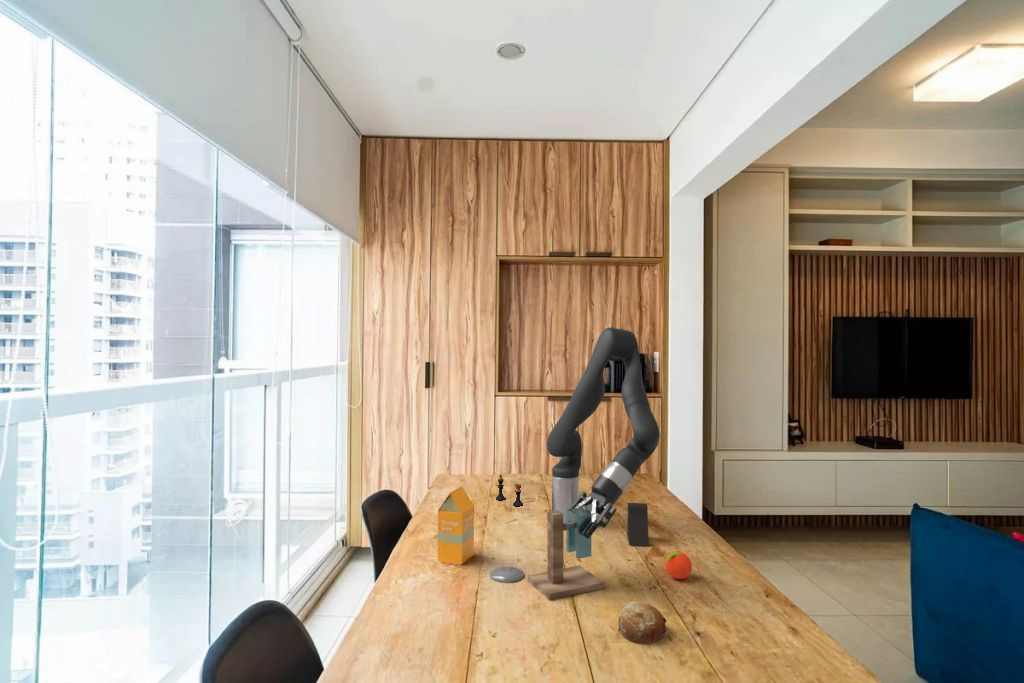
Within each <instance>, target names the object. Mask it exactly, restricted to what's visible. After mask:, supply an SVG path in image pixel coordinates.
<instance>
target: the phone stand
mask: <svg viewBox="0 0 1024 683" xmlns="http://www.w3.org/2000/svg"><path fill="white" fill-rule="evenodd" d="M648 507H649V506H648V503H646V502H645V503H642V502H627V520H626V521H627V523H626V524H627V526H626V529H627V530H626V538H627V541H628V542H629V543H628V545H632V546H631V547H646V546H650V543H649V521H648V520H649V519H648V518H649V516H648V514H649V513H648Z"/></svg>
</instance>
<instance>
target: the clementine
mask: <svg viewBox="0 0 1024 683" xmlns="http://www.w3.org/2000/svg"><path fill="white" fill-rule="evenodd" d="M664 565H665V566H664V567H665V570H666V572H667V573H668V575H669V576H671V577H672V578H673V579H676V580H677V579H678V580H683V579H687V578H688V577H689V576H690V574H691V573H692V570H693V562H692V561H691V558H690V557H689V556H688V555H687V554H686V553H685V552H683V551H680V550H675V551H672V552H670V553H669V554H667V556H666V557H665V560H664Z"/></svg>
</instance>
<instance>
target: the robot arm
mask: <svg viewBox="0 0 1024 683" xmlns="http://www.w3.org/2000/svg"><path fill="white" fill-rule="evenodd" d="M593 348H594V349H592V350H593V351H592V353H591V356H590V359H589V361H588V363H587V365H586V368H585V370H584V372H583V374H582V376H581V378H580V380H579V382H578V383H577V385H576V387H575V389H574V391H573V393H572V394H571V397H570V399H569V401H568V403H567V405H566V406H565V408H564V410H563V413H562V414H561V416H560V417H559V419H558V420H557V422H556V424H555V425H554V426H553V428H552V430H551V431H550V433H549V435H548V437H547V441H546V448H547V449H546V450H547V452H548V453H549V454H550V455H551V456H552V457H554V458H555V457H556V458H560V460H559V461H558V462H557V463H556V464H555V465H554V466H552V470H551V474H552V476H551V481H552V482H551V483H552V485H551V486H552V487H551V489H552V490H551V493H552V510H551V511H556V510H558V511H560V512H562V513H563V523H566V509H573V508H581V509H583V510H585V511H587V512H589V513H591V522H589V524H588V525H587V527H586V528H585V529H584V531H583V532H582V534H583V536H584V537H585V538H587V539H589V538H590V536H591V537H592V536H593V534H594V533H595V531H596V530H597V529H599V528H603V529H605V528H606V527H607V525H608V523H610V522H611V519H612V518H613V517H614V515H615V513H616V512H617V508H616V507H615V504H616V503H617V502H618V500H619V499H620V497H621V496H622V495H623V493H624V492H625V490H626V489H627V488H628V486H629V485H630V483H631V481H632V480H633V478H634V476H635V475H636V474H637V472H638V471H639V470H640V468H641V466H642V465H643V464H644V463H645V462H646V461H647V460H648V458H650V456H651V455H653V453H654V452H655V450H657V447H658V445H659V442H660V436H661V435H660V434H661V432H660V429H659V425H658V422H657V420H656V418H655V416H654V413H653V412H652V409H651V405H650V403H649V398H648V396H647V392H646V389H645V385H644V379H643V375H642V374H643V373H642V364H641V357H640V351H639V344H638V339H637V337H636V334H635V333H634V332H632V331H630V330H628V329H622V328H616V327H606V328H604V330H602V331H601V333H600V335H599V337H598V338H597V340H596V343H595V345H594V347H593ZM610 359H617V360H618V359H619V360H622V363H623V365H624V367H625V375H624V379H623V383H622V386H621V397H622V398H621V399H622V403H623V406H624V409H625V414H626V415H627V417H628V419H629V421H630V423H631V424H630V425H631V428H632V433H633V436H632V438H631V439H630V441H629V443H628V444H627V445H626V446H625V447H623V448H621V449H620V450H619V451H618V452H617V453H616V455H615V456H614V457H613V458H612V460H611V462H609V464H607V466H606V467H605V468H604V469H603V470H602V472H601V473H600V474H599V476H598V477H597V478H596V480H595V481H594V482H593V484H592V485H591V486H590V487H591V492H590V493H589V494H587V493H586V492H585V491H582V492H581V493H580V483H579V482H580V481H579V480H580V478H579V477H580V469H581V468H582V451H583V442H582V438H581V434H580V433H579V431H578V430H577V429H578V427H579V426H581V424H583V423H584V422H585V421H586V420H588V419H589V418H590V417H591V416H592V415H593V414H594V413H595V411H596V410H597V409H598V407H599V406H600V404H601V403H602V401H603V398H604V396H605V395H606V394H605V393H606V387H605V386H606V385H605V384H606V383H605V379H604V371H605V369H606V366H607V364H608V362H609V360H610Z"/></svg>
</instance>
